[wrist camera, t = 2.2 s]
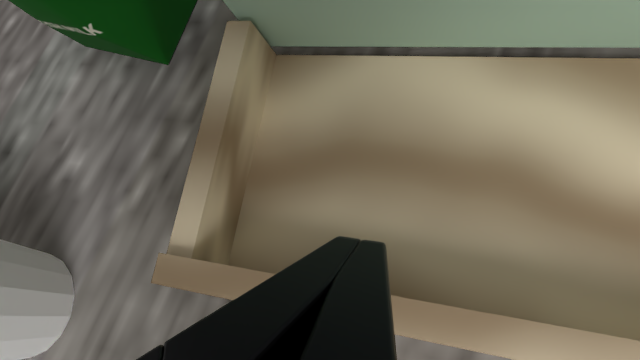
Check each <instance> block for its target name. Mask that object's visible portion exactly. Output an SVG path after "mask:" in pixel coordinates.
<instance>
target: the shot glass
mask: <svg viewBox="0 0 640 360" xmlns="http://www.w3.org/2000/svg"><path fill="white" fill-rule="evenodd" d="M74 296H75V294H74V287H73V280H72V275H71V274H70V272H69V270H68V268H67V267H66V265H65V263H64V262H63V261H62V260H60V259H58V258H56V257H55V256H53V255H51V254H49V253H45V252H42V251H39V250H35V249H32V248H28V247H25V246H22V245H18V244H15V243H11V242H8V241H5V240H1V239H0V360H21V359H26V358H31V357H33V356H36V355H38V354H40V353H42V352H45V351H47V350H48V349H49V348H50V347H51V346H52V345H53V344H54V343H55V342H56V341H57V340H58V339H59V338H60V337H61V335H62V333H63V331H64V329H65V327H66V325H67V323H68V321H69V319H70V317H71V313H72V307H73V302H74Z"/></svg>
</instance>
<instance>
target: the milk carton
mask: <svg viewBox="0 0 640 360" xmlns="http://www.w3.org/2000/svg"><path fill="white" fill-rule="evenodd" d="M9 1H10V2H12V3H13V4H15V5H16V6H18V7H19V8H21V9H22V10H23V11H25V12H26V13H28V14H29V15H31V16H32V17H34V18H35V19H37V20H39V21H40V22H42V23H44V24H46V25H47V26H49V27H51V28H53V29H55V30H57V31H59V32H60V33H62V34H64V35H66V36H68V37H70V38H71V39H73V40H75V41H77V42H79V43H81V44H82V45H84V46H86V47H91V48H95V49H100V50H104V51H108V52H113V53H117V54H122V55H126V56H131V57H135V58H139V59H144V60H148V61H153V62H157V63H162V64H166V65H168V64H169V62H170V60H171V58H172V55H173V53H174V51H175V49H176V47H177V44H178V42H179V40H180V38H181V35H182V33H183V31H184V29H185V27H186V24H187V22H188V20H189V18H190V15H191V13H192V11H193V9H194V7H195V4H196V2H197V0H9Z"/></svg>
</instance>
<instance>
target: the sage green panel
mask: <svg viewBox="0 0 640 360" xmlns="http://www.w3.org/2000/svg"><path fill="white" fill-rule="evenodd" d="M223 1H224V3H225V4H226V5H227V6H228V8H229V9H230V10H231V11H232V13H233V14H234V15H235V16H236V18H237V19H238V20H239V21H251V22H252V23H253V25H254V26H255V27H256V29H257V30H258V31H259V33H260V34H261V35H262V36H263V38H264V39H265V40H266V42H267V43H268V44H269V46H300V47H599V48H640V0H223Z"/></svg>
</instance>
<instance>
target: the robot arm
mask: <svg viewBox="0 0 640 360" xmlns="http://www.w3.org/2000/svg"><path fill="white" fill-rule="evenodd" d="M136 360H397V356H396V345H395V334H394V324H393V313H392V302H391V292H390V281H389V270H388V260H387V249H386V245H385V243H384V242H379V241H372V240H360V239H358V238H351V237H344V236H338V237H335V238H334V239H332V240H330V241H329V242H327V243H326V244H324V245H322V246H321V247H319V248H317V249H316V250H314V251H312V252H311V253H309V254H308V255H306V256H304V257H303V258H301V259H299V260H298V261H296V262H295V263H293V264H291V265H290V266H288V267H286V268H285V269H283V270H282V271H280V272H278V273H277V274H275V275H273V276H272V277H270V278H269V279H267V280H265V281H264V282H262V283H260V284H259V285H257V286H256V287H254V288H252V289H251V290H249V291H247V292H246V293H244V294H243V295H241V296H239V297H238V298H236V299H234V300H233V301H231V302H229V303H228V304H226V305H225V306H223V307H221V308H220V309H218V310H216V311H215V312H213V313H212V314H210V315H208V316H207V317H205V318H203V319H202V320H200V321H199V322H197V323H195V324H194V325H192V326H190V327H189V328H187V329H186V330H184V331H182V332H181V333H179V334H177V335H176V336H174V337H173V338H171V339H169V340H168V341H166V342H165V344H164V346H163V345H159V346H158V347H156V348H154V349H153V350H151V351H149V352H148V353H146V354H145V355H143V356H141V357H140V358H138V359H136Z"/></svg>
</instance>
